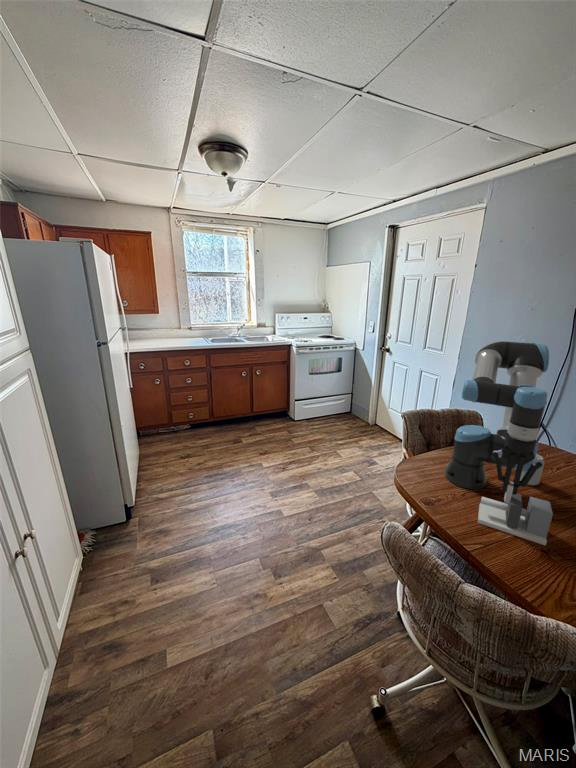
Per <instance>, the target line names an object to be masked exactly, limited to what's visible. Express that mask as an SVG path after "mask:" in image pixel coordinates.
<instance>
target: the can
mask: <svg viewBox="0 0 576 768" xmlns="http://www.w3.org/2000/svg"><path fill="white" fill-rule="evenodd" d="M535 458H537V459H538V460H541V461H542V466H541V467H540V468H538V469H537V470H536V472H535V473H534V475H533V476H532V478H531V479H530V481H529V482H528V484H527V485H528V486H537V485H539V484H540V482H541V478H542V473H543V469H544V466H545V460H544V457H543V456H542V455H540V454H538V453H537V454H536V457H535ZM526 472H527V471H522V473H521V477H520V481H521V480H522V478H523V477H524V475H525V474H526ZM527 485H526V486H527Z"/></svg>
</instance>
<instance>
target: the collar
mask: <svg viewBox="0 0 576 768" xmlns="http://www.w3.org/2000/svg"><path fill="white" fill-rule="evenodd" d="M506 504H509V503H506ZM522 508H523V501H522V494H520V493H518V492H517V493H516V495H514V494H512V496H511V501H510V504H509V510H508V512H507V511H506V525H507V526H510V527H514V528H517V529H518V524H519V520H520V516H521V512H522ZM523 509H524V508H523Z"/></svg>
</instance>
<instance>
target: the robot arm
mask: <svg viewBox="0 0 576 768" xmlns="http://www.w3.org/2000/svg"><path fill="white" fill-rule="evenodd" d="M474 362H475V368H474V372H473V376H472V379H466V380H465V381H464V383H463V386H462V390H461V391H462V392H461V399H463V400H464V401H469V402H472V403H479V404H485V405H486V404H487V405H491V406H492V405H493V406H498V407H504V408H505V409H504V415H503V422H502V427H501V428H499V429H497V430H496V433H492V432H491V430H490V428H488V427H485V426H482V425H474V424H469V425H468V424H465V425H463V426H460V427H458V428H457V429H456V432H455V436H454V443H453V451H452V456H451V459H450V461H449V462H448V464H447V465H446V467H445V470H444V477H445V476H446V477H445V478H446V479H447V481H449V482H450V483H451V484H454V485H456V486H458V487H460V488H464V489H470V490H480V489H481V490H482V489H484V487H485V486H486V484H487V475H486V471H485V470H486V469H485V463H488V464H491V465H495V466H496V472H497V480H498V481H501V482H502V487H501V489H502V492H503V493H504V497H503V500H504V501H503V503H506V504H507V503H509V504H510V501H511V496H512V494H514V495H516V493H517V494H518V489H519V487H523V488H526V487H527V484H528V482H529V481H530V479H531V478H532V476H533V475H534V473H535V472H536V470H537V469H538V468H540V467H541V466H542V461H541V460H538V459H537V458H535V457H536V454H538V449H539V443H538V442H537V439H538V436H539V432H540V428H541V424H542V419H543V415H544V412H545V408H546V405H547V399H548V392H547V391H545V390H544V389H541V388H537V386H536V385H537V379H538V378H540V377H542V375H543V374H544V373H546V372H547V371H548V369H549V363H550V350H549V348H548V346H547V345H546V344H544V343H536V342H532V343H531V342H521V341H520V342H517V341H516V342H515V341H495V342H491V343H489V344H487V345H485V346H484V347H482V348H481V349H480V350H478V352H477V353H476V355H475V359H474ZM498 369H506V373H507V375H509V376H510V379H509V384H503V383H496V382H497V377H498V371H499V370H498ZM502 467H503V468H506V469H505V474H504V476H503V469H502ZM512 470H513V471H514V470H515V473H514V477H513V481H510V479H511V475H512ZM522 471H527V472H526V474H525V475H524V477H523V478H522V480H521V481H520V477H521V473H522Z"/></svg>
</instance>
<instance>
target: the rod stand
mask: <svg viewBox="0 0 576 768" xmlns="http://www.w3.org/2000/svg"><path fill="white" fill-rule="evenodd" d="M508 510H509V504H507V503H506V502H502V501H499V500H495V499H492V498H488V497H485V496H481V500H480V503H479V505H478V518H477V524H480V525H483V526H485V527H489V528H492V529H495V530H499V531H501V532H503V533H507V534H510V535H513V536H517V537H518V538H522V539H525V540H527V541H531V542H534V543H537V544H539V545H543V546H545V547H546V545H547V542H548V541H547V537H548V534H549V529H550V526H551V524H552V519H553V516H554V513H553V510H552V506H551V501H549V500H545V499H540V498H538V497H534V496H529V500H528V504H527V507H526V508H522V512H521V516H520V520H519V524H518V529H517V528H514V527H510V526H507V525H506V511H507V512H508Z"/></svg>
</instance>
